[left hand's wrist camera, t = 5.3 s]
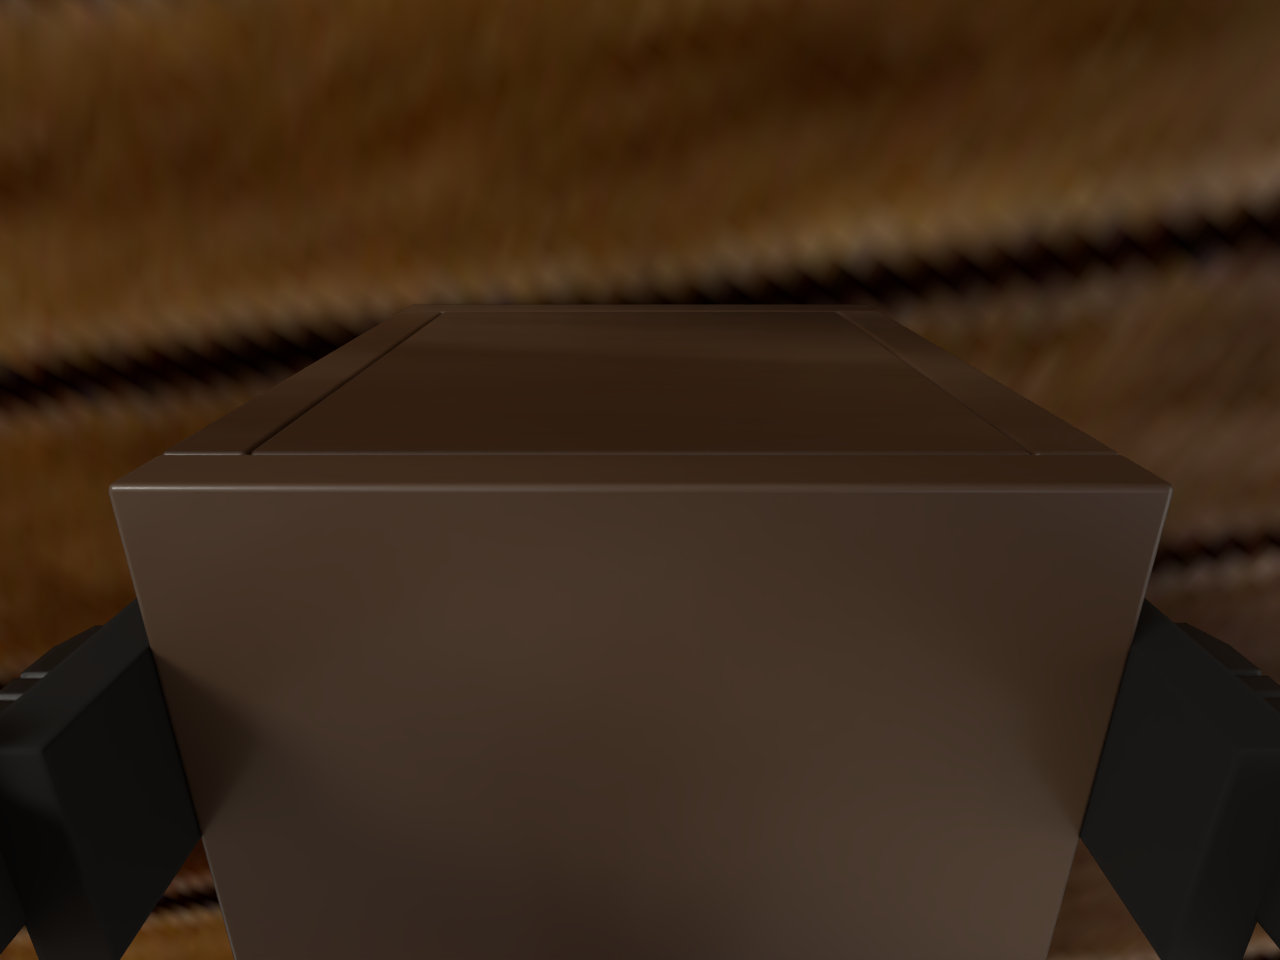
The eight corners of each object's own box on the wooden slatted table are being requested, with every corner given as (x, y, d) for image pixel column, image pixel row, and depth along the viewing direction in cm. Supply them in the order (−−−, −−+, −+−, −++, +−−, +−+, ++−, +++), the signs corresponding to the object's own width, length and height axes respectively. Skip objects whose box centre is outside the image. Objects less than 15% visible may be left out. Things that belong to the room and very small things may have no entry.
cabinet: (813, 832, 24) (945, 1340, 14) (466, 832, 24) (334, 1341, 14) (869, 303, 18) (1179, 485, 8) (411, 303, 18) (101, 485, 8)
